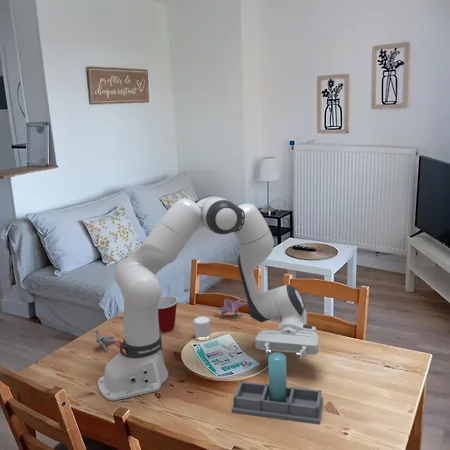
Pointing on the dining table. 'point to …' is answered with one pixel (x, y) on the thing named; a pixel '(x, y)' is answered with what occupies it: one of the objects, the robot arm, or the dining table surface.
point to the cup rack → (278, 403)
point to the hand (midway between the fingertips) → (283, 355)
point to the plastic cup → (167, 313)
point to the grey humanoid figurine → (104, 340)
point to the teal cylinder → (277, 377)
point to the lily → (231, 306)
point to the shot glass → (202, 326)
